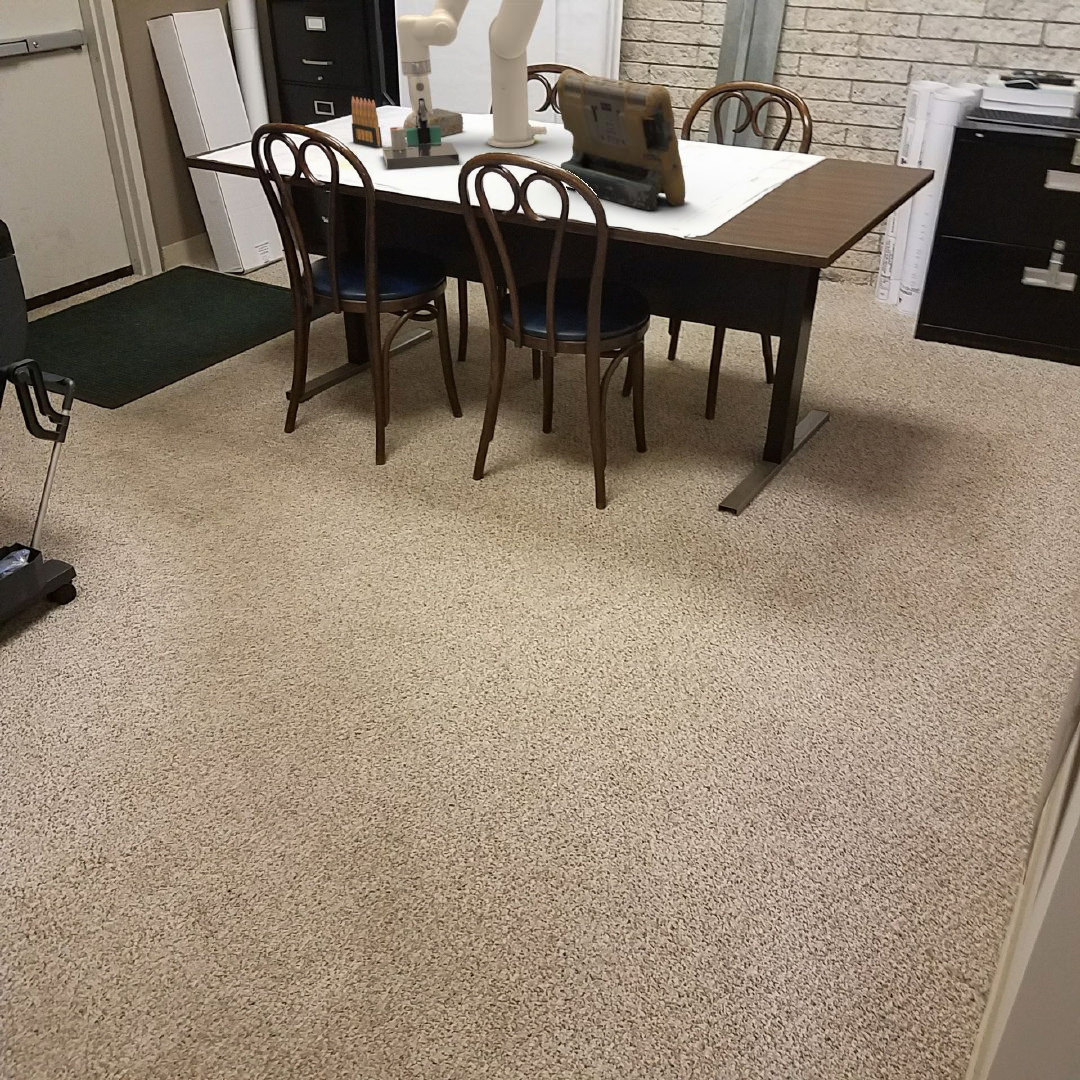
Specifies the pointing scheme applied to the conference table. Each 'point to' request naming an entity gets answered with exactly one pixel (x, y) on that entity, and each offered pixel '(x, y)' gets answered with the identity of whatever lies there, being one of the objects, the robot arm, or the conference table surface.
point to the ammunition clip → (365, 123)
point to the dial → (398, 138)
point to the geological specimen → (439, 121)
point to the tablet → (622, 139)
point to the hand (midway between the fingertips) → (424, 141)
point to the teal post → (413, 135)
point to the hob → (421, 156)
